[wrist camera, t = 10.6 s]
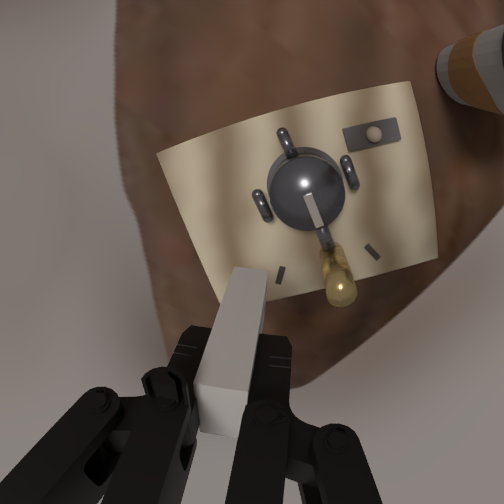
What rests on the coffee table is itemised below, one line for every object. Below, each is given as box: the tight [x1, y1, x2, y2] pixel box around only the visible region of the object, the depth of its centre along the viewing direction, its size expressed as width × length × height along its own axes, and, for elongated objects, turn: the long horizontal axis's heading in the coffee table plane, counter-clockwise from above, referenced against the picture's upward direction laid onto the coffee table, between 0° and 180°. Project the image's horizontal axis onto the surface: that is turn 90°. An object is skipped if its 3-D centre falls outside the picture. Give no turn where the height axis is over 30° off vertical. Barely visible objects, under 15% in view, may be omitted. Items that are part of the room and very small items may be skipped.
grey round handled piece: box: [252, 127, 360, 307], centre depth 24 cm, size 14×9×7 cm, turn 25°
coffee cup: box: [436, 25, 504, 115], centre depth 16 cm, size 8×8×15 cm
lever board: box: [157, 81, 438, 305], centre depth 29 cm, size 24×18×4 cm
